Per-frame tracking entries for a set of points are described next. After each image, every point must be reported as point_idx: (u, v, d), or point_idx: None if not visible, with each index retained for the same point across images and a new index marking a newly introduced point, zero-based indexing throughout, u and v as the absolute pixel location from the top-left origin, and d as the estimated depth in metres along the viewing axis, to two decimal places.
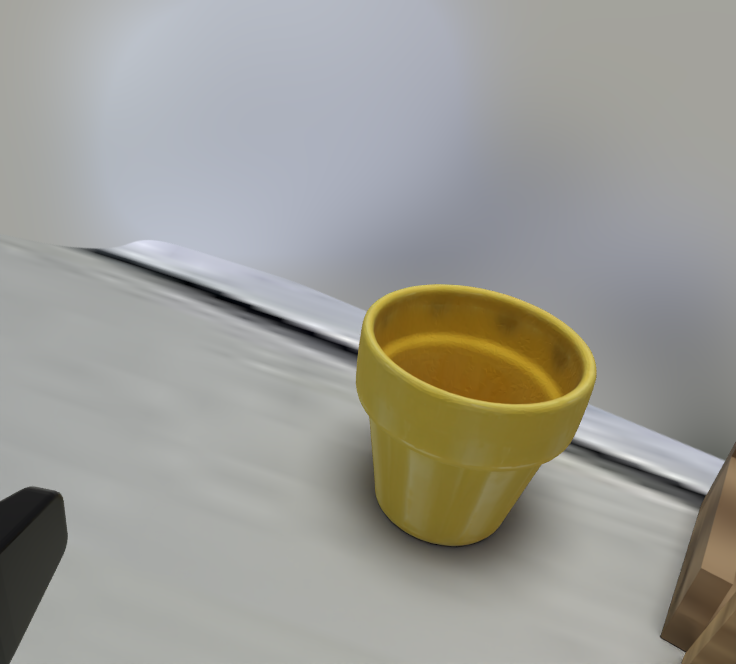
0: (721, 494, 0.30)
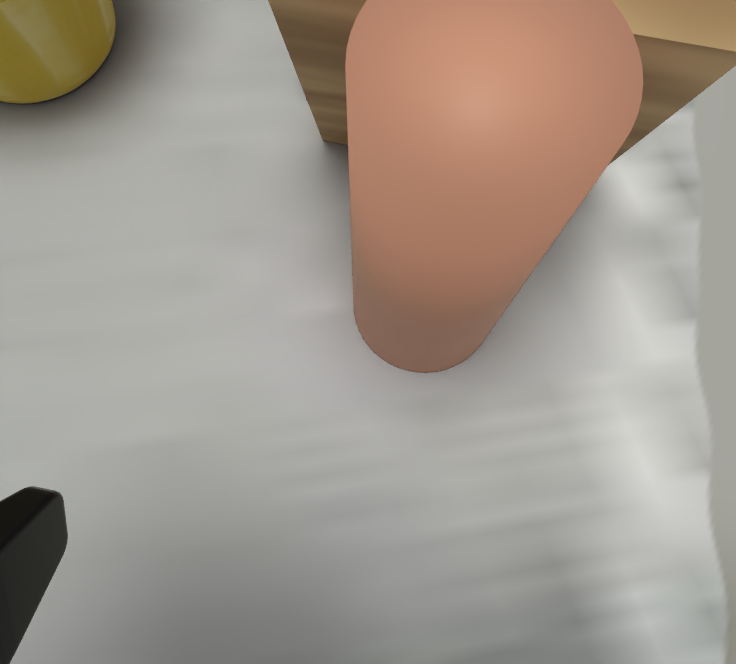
0: None
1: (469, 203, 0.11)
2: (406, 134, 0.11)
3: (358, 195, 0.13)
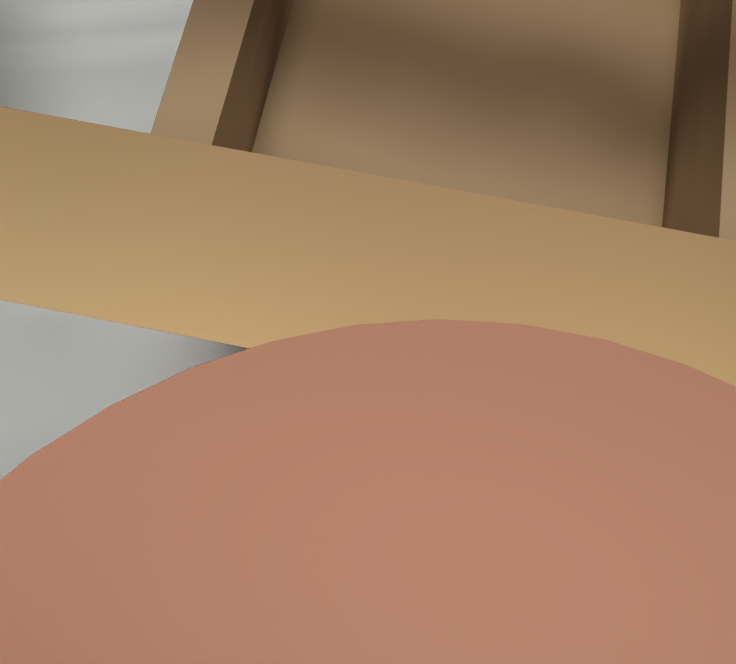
0: None
1: None
2: None
3: None
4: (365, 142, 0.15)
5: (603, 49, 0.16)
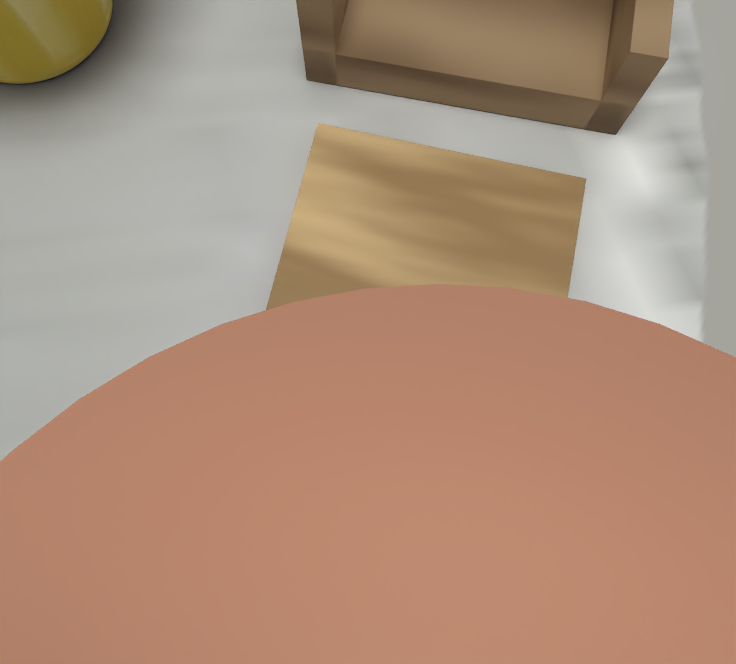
0: None
1: None
2: None
3: None
4: (417, 8, 0.24)
5: None
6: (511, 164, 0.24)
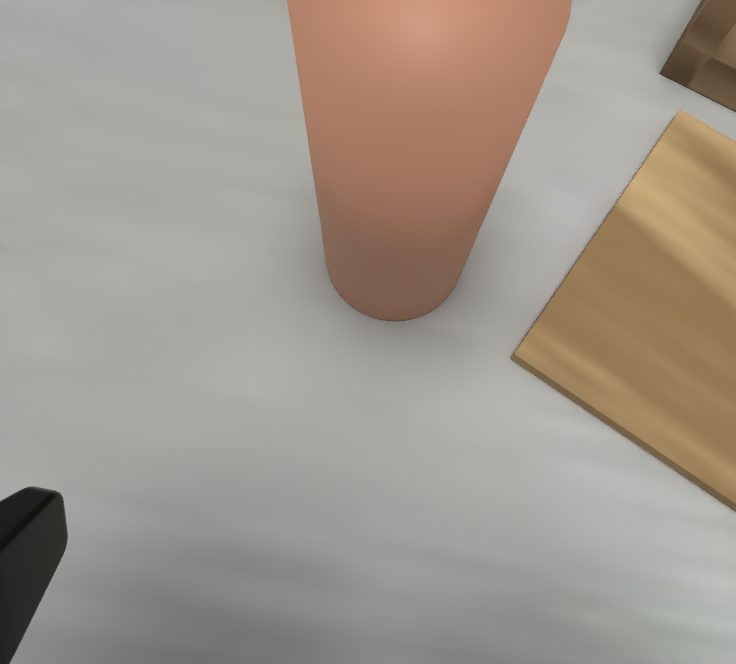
0: None
1: (405, 117, 0.11)
2: (344, 52, 0.11)
3: (310, 125, 0.14)
4: None
5: None
6: None
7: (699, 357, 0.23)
